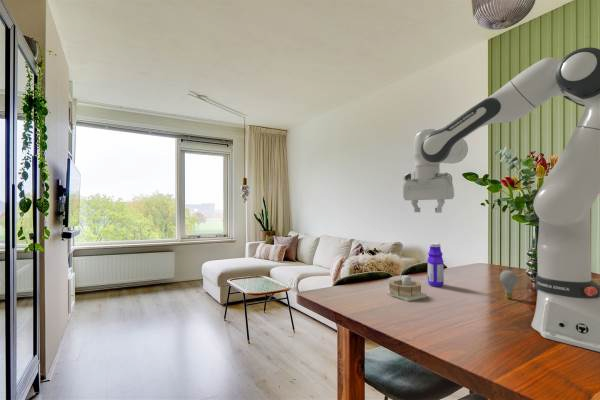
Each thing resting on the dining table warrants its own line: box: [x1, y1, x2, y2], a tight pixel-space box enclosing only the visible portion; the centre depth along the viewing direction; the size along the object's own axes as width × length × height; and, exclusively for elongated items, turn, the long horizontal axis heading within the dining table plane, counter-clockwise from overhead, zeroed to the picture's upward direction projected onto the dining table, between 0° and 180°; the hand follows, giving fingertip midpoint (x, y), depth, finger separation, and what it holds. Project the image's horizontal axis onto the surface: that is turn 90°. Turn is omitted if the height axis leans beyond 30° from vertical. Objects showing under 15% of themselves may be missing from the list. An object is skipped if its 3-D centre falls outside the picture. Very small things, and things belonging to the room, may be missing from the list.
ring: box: [388, 279, 422, 297], centre depth 122 cm, size 11×11×4 cm
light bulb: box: [499, 269, 519, 300], centre depth 116 cm, size 5×6×10 cm
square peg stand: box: [386, 275, 428, 302], centre depth 121 cm, size 10×10×7 cm
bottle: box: [426, 242, 445, 288], centre depth 136 cm, size 7×6×17 cm
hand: (427, 212), depth 120 cm, fingers open, 8 cm apart
